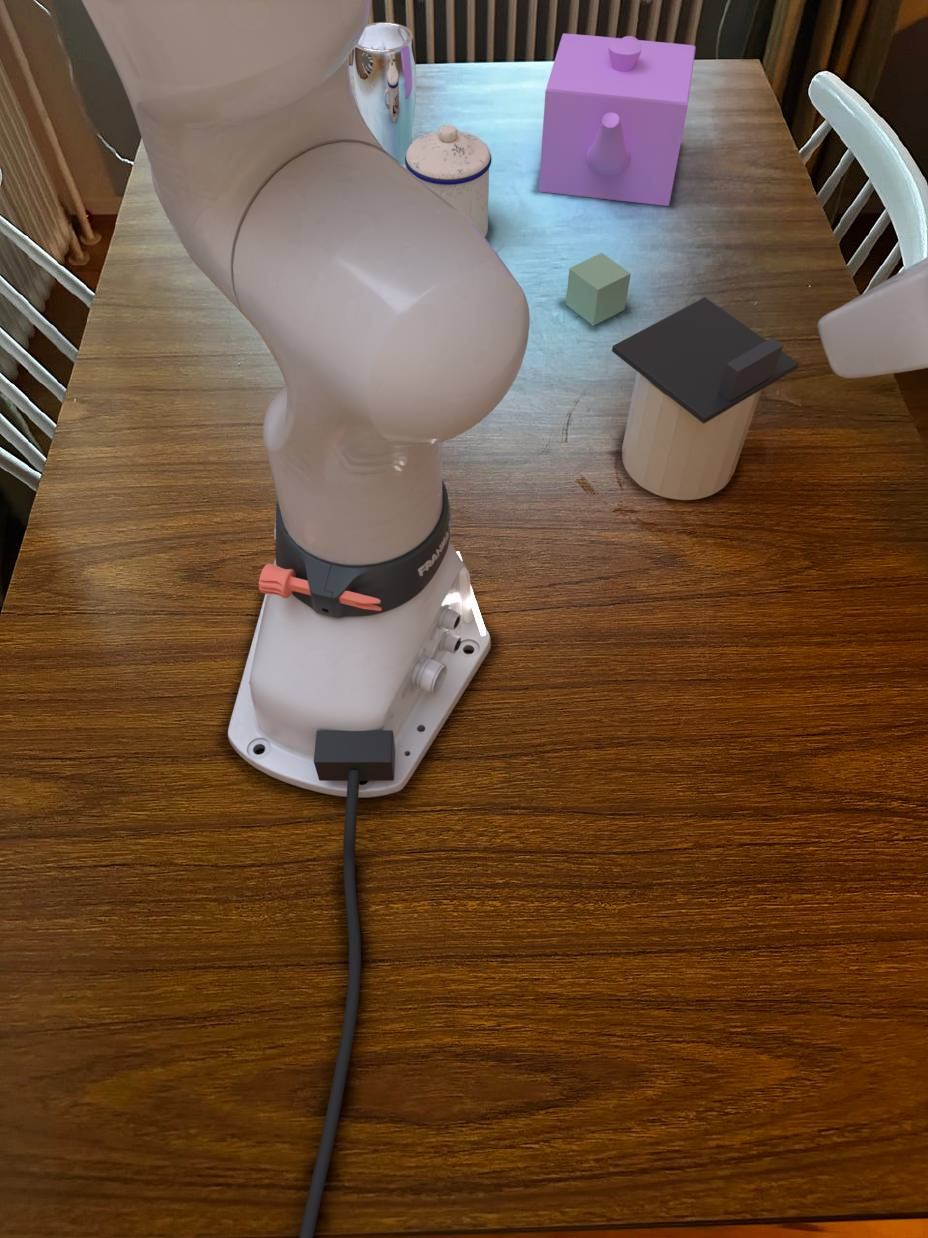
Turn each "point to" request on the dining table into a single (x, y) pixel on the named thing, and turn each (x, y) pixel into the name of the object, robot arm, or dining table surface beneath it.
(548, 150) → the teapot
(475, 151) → the teacup with lid
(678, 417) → the beige cylindrical container
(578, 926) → the dining table surface
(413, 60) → the silver metal cup
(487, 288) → the robot arm
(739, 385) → the slider lid
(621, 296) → the block
